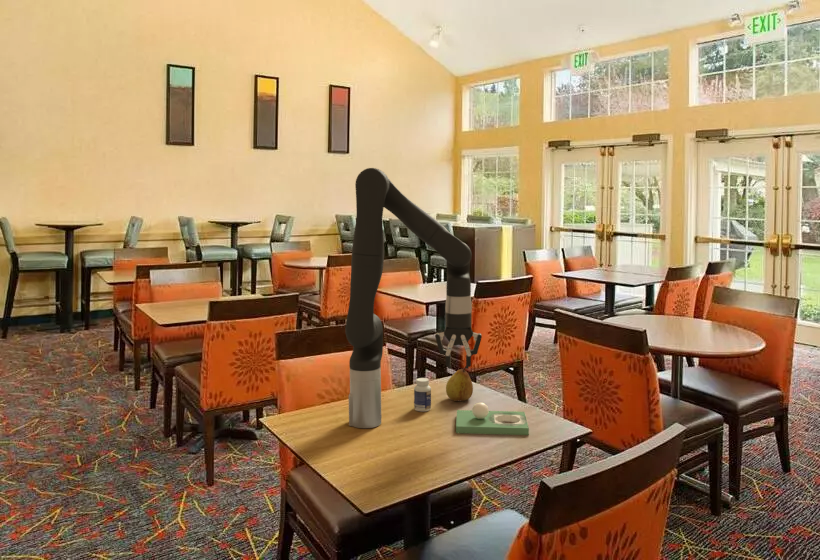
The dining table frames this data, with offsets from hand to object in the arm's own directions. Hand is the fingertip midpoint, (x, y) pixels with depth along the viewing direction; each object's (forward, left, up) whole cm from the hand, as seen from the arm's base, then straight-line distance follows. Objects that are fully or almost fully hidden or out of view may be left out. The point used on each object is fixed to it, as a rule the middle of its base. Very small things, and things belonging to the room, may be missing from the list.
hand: (458, 367), depth 185 cm
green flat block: (+10, 0, -17) cm, 20 cm away
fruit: (0, +23, -18) cm, 29 cm away
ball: (+7, 0, -13) cm, 14 cm away
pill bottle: (-11, +13, -18) cm, 25 cm away
